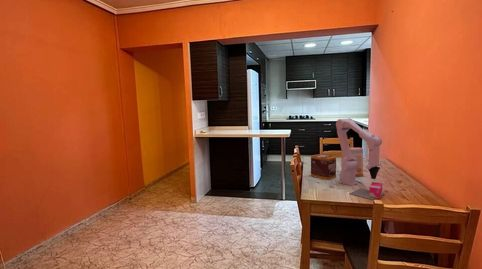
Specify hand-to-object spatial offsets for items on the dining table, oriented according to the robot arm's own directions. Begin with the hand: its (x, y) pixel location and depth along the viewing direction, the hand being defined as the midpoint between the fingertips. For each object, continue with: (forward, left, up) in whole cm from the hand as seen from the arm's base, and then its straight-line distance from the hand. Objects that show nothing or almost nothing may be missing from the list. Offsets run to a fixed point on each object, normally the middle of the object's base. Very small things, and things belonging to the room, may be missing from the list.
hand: (373, 178), depth 153 cm
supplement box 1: (-40, +7, -8) cm, 41 cm away
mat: (0, -8, -8) cm, 11 cm away
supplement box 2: (+2, 0, -5) cm, 5 cm away
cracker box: (-27, +24, -8) cm, 37 cm away
